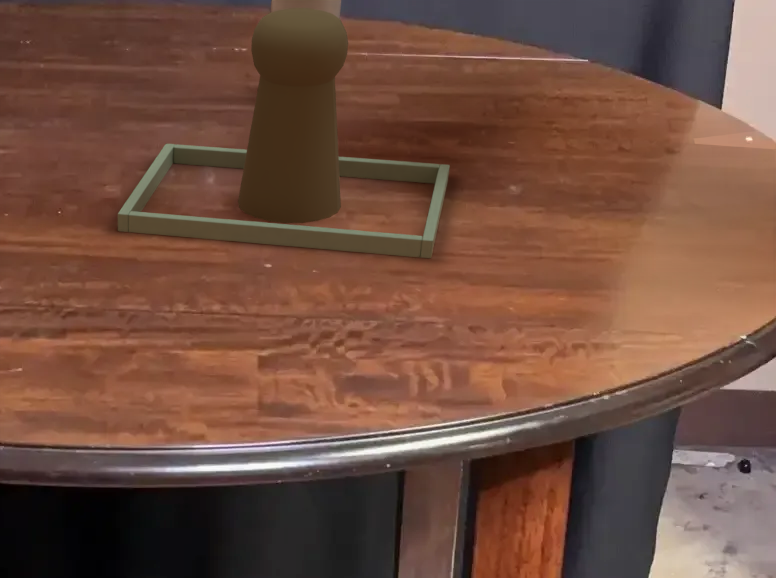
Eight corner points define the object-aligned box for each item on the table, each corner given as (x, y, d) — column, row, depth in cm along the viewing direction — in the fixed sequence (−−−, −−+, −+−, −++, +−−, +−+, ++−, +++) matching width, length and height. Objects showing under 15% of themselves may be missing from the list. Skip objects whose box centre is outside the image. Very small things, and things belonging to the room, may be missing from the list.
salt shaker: (338, 86, 109) (350, -76, 103) (329, 106, 105) (342, -61, 99) (272, 82, 110) (280, -79, 104) (261, 101, 106) (269, -65, 100)
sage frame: (445, 199, 90) (449, 164, 89) (428, 278, 81) (433, 240, 80) (165, 176, 94) (165, 143, 93) (117, 249, 84) (117, 213, 83)
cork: (214, 212, 87) (221, 12, 81) (282, 186, 91) (294, -8, 84) (295, 240, 84) (309, 33, 77) (362, 212, 87) (381, 11, 81)
